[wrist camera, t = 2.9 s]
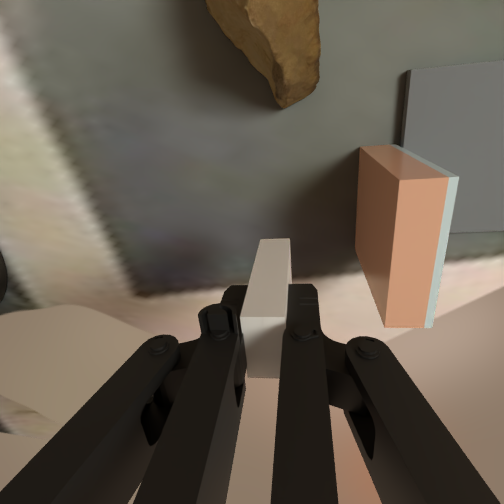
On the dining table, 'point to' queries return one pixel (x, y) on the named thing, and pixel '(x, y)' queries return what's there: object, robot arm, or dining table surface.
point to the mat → (461, 135)
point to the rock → (275, 41)
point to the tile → (403, 232)
